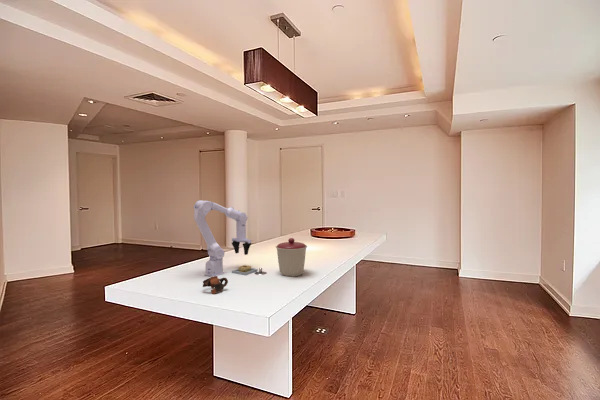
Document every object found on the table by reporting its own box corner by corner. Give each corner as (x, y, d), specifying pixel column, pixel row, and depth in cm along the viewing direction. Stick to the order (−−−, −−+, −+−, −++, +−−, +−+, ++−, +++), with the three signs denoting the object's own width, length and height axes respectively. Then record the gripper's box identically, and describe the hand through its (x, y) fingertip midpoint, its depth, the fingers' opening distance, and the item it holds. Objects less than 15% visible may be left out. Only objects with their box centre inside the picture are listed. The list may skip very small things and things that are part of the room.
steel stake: (261, 276, 184) (261, 270, 184) (251, 274, 188) (251, 268, 188) (269, 273, 190) (269, 267, 190) (259, 271, 194) (259, 266, 194)
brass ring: (243, 273, 187) (243, 268, 187) (237, 272, 190) (236, 267, 190) (251, 271, 192) (251, 266, 192) (244, 270, 195) (244, 265, 195)
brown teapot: (206, 297, 152) (200, 280, 154) (206, 299, 160) (201, 283, 162) (231, 287, 156) (225, 271, 159) (229, 290, 165) (224, 275, 167)
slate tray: (245, 276, 184) (245, 273, 184) (231, 273, 190) (231, 270, 190) (257, 272, 193) (257, 269, 193) (244, 269, 199) (244, 266, 199)
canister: (308, 270, 196) (308, 235, 195) (306, 279, 178) (305, 240, 177) (278, 270, 197) (278, 235, 196) (273, 278, 179) (272, 240, 179)
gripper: (254, 231, 199) (254, 254, 199) (237, 230, 207) (237, 251, 207) (246, 233, 193) (246, 256, 193) (229, 231, 201) (229, 253, 201)
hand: (241, 253), depth 200 cm, fingers open, 7 cm apart
